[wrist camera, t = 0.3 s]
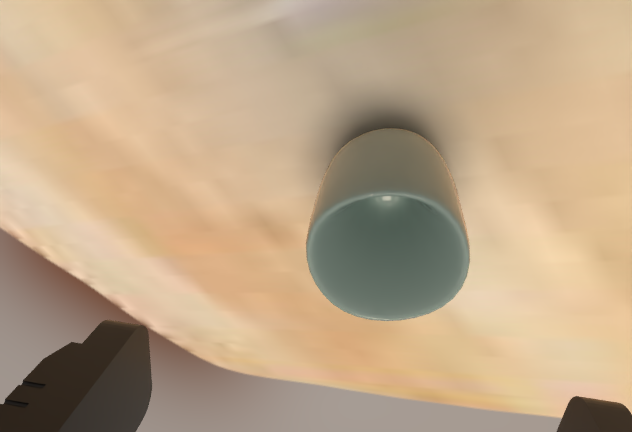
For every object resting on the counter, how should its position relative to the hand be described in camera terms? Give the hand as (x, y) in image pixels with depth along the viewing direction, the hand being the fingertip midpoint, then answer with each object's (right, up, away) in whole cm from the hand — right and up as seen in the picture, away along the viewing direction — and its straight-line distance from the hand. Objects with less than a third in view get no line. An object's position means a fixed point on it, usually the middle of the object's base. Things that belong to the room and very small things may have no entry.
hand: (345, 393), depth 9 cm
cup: (+4, +7, +22) cm, 23 cm away
